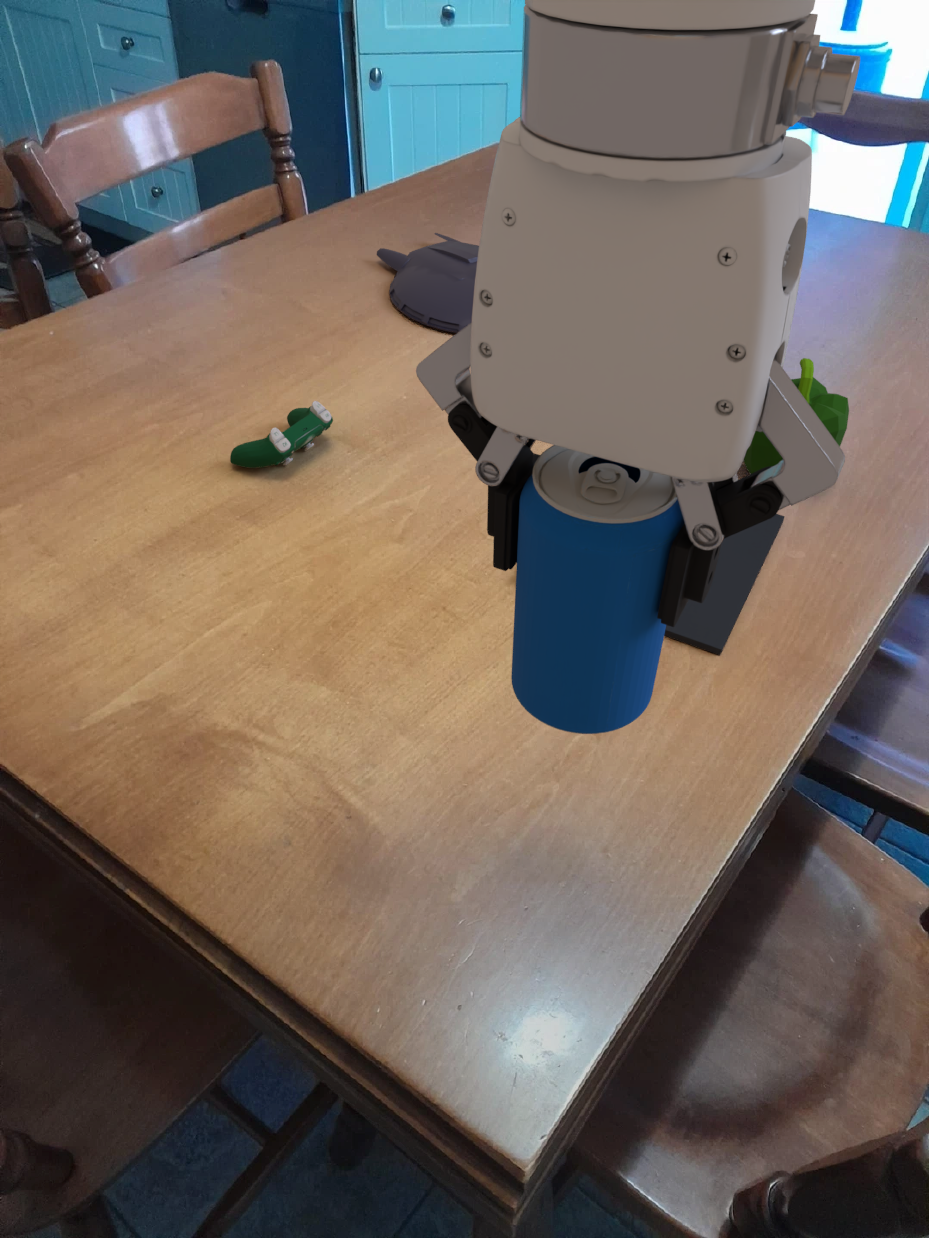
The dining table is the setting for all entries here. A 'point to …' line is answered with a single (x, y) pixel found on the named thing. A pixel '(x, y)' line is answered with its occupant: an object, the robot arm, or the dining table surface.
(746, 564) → the mat
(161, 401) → the dining table surface
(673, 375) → the robot arm
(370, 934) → the dining table surface
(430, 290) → the toy spaceship
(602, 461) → the beverage can
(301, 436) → the gaming controller
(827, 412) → the bell pepper
